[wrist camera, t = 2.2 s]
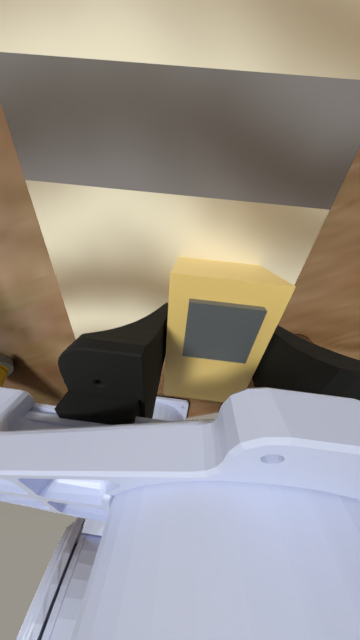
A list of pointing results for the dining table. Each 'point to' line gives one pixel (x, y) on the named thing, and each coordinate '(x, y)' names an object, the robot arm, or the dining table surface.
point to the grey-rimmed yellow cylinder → (5, 367)
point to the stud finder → (219, 325)
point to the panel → (177, 136)
